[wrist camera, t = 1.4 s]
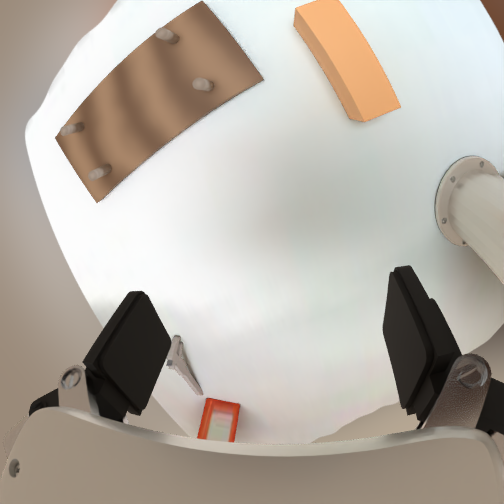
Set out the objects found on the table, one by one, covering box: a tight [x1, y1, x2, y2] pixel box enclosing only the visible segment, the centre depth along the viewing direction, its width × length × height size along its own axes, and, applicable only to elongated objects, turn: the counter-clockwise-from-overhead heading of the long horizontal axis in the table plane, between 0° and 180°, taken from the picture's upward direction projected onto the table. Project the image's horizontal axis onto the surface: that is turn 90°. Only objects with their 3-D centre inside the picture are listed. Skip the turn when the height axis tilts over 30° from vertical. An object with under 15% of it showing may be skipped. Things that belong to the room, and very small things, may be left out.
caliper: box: [166, 336, 203, 395], centre depth 47 cm, size 20×1×6 cm, turn 4°
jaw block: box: [294, 0, 401, 122], centre depth 20 cm, size 4×12×6 cm, turn 30°
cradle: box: [55, 1, 263, 203], centre depth 24 cm, size 26×12×5 cm, turn 122°
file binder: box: [197, 398, 240, 443], centre depth 46 cm, size 8×17×32 cm, turn 171°
